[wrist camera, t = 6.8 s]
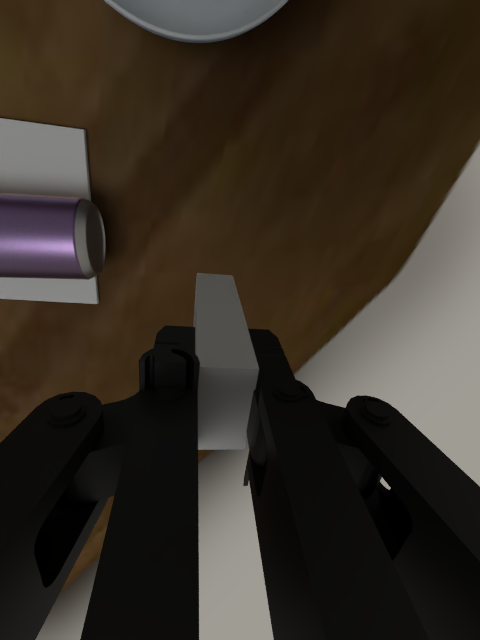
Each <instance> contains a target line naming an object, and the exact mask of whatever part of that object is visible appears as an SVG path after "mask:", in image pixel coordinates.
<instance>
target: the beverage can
mask: <svg viewBox="0 0 480 640" xmlns="http://www.w3.org/2000/svg"><path fill="white" fill-rule="evenodd" d="M105 254H106V240H105V230H104V224H103V220H102V216H101V213H100V211H99V209H98V207H97V206H96V205H95V204H93V203H92V202H90V201H89V200H87V199H85V198H79V197H62V196H45V195H28V194H11V193H0V278H43V279H85V280H89V279H91V278H93V277H95V276H97V275H99V274H100V273H101V271H102V269H103V266H104V262H105Z"/></svg>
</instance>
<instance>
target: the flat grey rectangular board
mask: <svg viewBox="0 0 480 640" xmlns="http://www.w3.org/2000/svg"><path fill="white" fill-rule="evenodd" d="M0 193H11V194H28V195H45V196H62V197H79V198H85V199H87V200H89V201H90V202H91V194H90V181H89V168H88V155H87V142H86V130H82V129H75V128H68V127H61V126H53V125H46V124H39V123H32V122H25V121H17V120H10V119H3V118H0ZM0 299H16V300H34V301H53V302H71V303H89V304H98V302H99V298H98V285H97V276H95V277H93V278H91V279H89V280H85V279H43V278H0Z"/></svg>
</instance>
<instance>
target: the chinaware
mask: <svg viewBox="0 0 480 640" xmlns="http://www.w3.org/2000/svg"><path fill="white" fill-rule="evenodd" d="M104 1H105V2H106V3H107V4H108V5H110V6H111V7H112V8H113V9H115V10H116V11H117V12H119V13H120V14H121V15H123V16H124V17H126V18H127V19H129V20H130V21H132V22H133V23H135V24H137V25H138V26H140V27H142V28H144V29H146V30H148V31H150V32H152V33H154V34H157V35H159V36H162V37H165V38H168V39H172V40H176V41H181V42H188V43H211V42H218V41H222V40H226V39H230V38H233V37H236V36H238V35H241V34H243V33H245V32H247V31H249V30H251V29H253V28H255V27H256V26H258V25H260V24H261V23H263V22H264V21H266V20H267V19H268V18H270V17H271V16H272V15H273V14H275V13H276V12H277V11H278V10H279V9H280V8H281V7H282V6H284V4H285V3H286V2H287V1H288V0H104Z"/></svg>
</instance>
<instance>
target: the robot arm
mask: <svg viewBox="0 0 480 640" xmlns="http://www.w3.org/2000/svg"><path fill="white" fill-rule="evenodd" d="M139 386H140V391H139V392H138V393H136V394H135V395H134V396H131V397H129V398H127V399H125V400H121V401H118V402H113V403H109V404H104V405H102V404H101V401H100V400H99V399H98V398H97V397H96V396H94V395H91V394H88V393H86V392H69V393H64V394H59V395H57V396H54V397H52V398H49V399H47V400H46V401H44V402H43V403H42V404H40V405H39V406H37V407H36V408H35V409H34V410H33V411H32V412H31V413H30V414H29V415H28V416H27V417H26V418H25V419H24V420H23V421H22V422H21V423H20V424H19V425H18V426H17V427H16V428H15V429H14V430H13V431H12V432H11V433H10V434H9V435H8V436H7V437H6V438H5V439H4V440H3V441H2V442H1V443H0V640H35V639H36V637H37V635H38V633H39V631H40V629H41V628H42V626H43V624H44V622H45V620H46V618H47V616H48V614H49V612H50V610H51V608H52V606H53V604H54V603H55V601H56V599H57V597H58V595H59V593H60V591H61V589H62V587H63V585H64V583H65V581H66V580H67V578H68V576H69V574H70V572H71V570H72V568H73V566H74V564H75V562H76V560H77V558H78V556H79V554H80V553H81V551H82V549H83V547H84V545H85V543H86V541H87V539H88V537H89V535H90V533H91V531H92V529H93V528H94V526H95V524H96V522H97V520H98V518H99V516H100V514H101V512H102V510H103V508H104V506H105V504H106V502H107V500H108V497H111V496H114V495H115V496H114V501H113V505H112V509H111V513H110V517H109V522H108V526H107V530H106V534H105V538H104V543H103V547H102V551H101V555H100V559H99V564H98V568H97V572H96V577H95V581H94V585H93V590H92V593H91V598H90V602H89V606H88V610H87V615H86V618H85V623H84V627H83V631H82V636H81V639H80V640H199V557H198V556H199V554H198V450H217V449H245V444H246V439H247V438H248V444H249V455H248V460H247V465H246V471H245V476H244V486H247V485H248V481H250V488H251V494H252V501H253V507H254V514H255V520H256V527H257V533H258V540H259V546H260V552H261V559H262V565H263V572H264V578H265V585H266V591H267V598H268V605H269V611H270V618H271V624H272V630H273V637H274V640H480V487H479V486H478V485H477V484H476V483H475V482H474V481H473V480H472V479H471V478H470V477H469V476H468V475H467V474H465V473H464V472H463V471H462V470H461V469H460V468H459V467H458V466H457V465H456V464H455V463H454V462H452V461H451V460H450V459H449V458H448V457H447V456H446V455H445V454H444V453H443V452H442V451H441V450H440V449H439V448H437V447H436V446H435V445H434V444H433V443H432V442H431V441H430V440H429V439H428V438H427V437H426V436H425V435H423V434H422V433H421V432H420V431H419V430H418V429H417V428H416V427H415V426H414V425H413V424H411V422H409V421H408V420H407V419H406V418H405V417H404V416H403V415H402V414H401V413H400V412H399V411H398V410H396V409H395V408H394V407H392V406H391V405H390V404H388V403H386V402H384V401H382V400H380V399H378V398H375V397H370V396H356V397H353V398H351V399H350V401H349V402H348V403H347V406H346V408H343V407H339V406H335V405H331V404H327V403H324V402H320V401H318V400H316V399H315V397H314V394H313V393H312V391H311V390H310V389H309V387H308V386H306V385H305V384H303V383H302V382H300V381H298V380H296V379H295V377H294V375H293V372H292V370H291V368H290V365H289V363H288V361H287V358H286V356H284V351H283V349H282V348H281V344H280V342H279V340H278V338H277V337H276V336H275V335H274V334H273V333H272V332H271V331H269V330H263V329H248V328H247V324H246V321H245V317H244V314H243V310H242V306H241V303H240V299H239V296H238V292H237V289H236V285H235V282H234V278H233V276H230V275H217V274H204V273H197V278H196V294H195V309H194V325H193V327H182V326H164V327H163V328H162V329H161V330H160V331H159V332H158V333H157V336H156V340H155V345H154V349H151V350H149V351H147V352H146V353H144V354H143V355H142V357H141V358H140V360H139ZM382 477H383V479H384V480H385V481H386V482H387V483H388V485H389V486H390V487H391V489H390V490H388V489H386V488H385V487H384V486H383V485H382V484H381V483H380V480H381V478H382Z"/></svg>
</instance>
